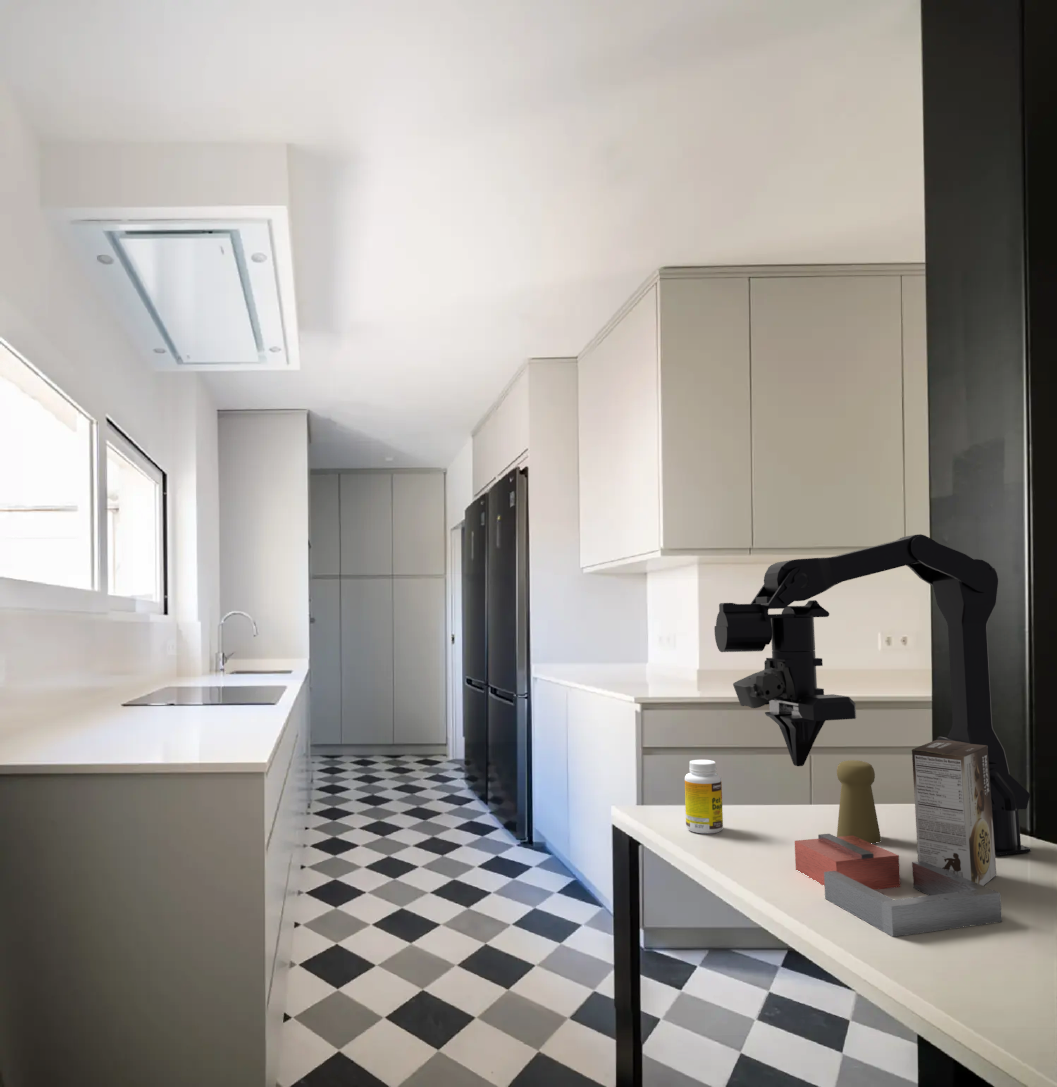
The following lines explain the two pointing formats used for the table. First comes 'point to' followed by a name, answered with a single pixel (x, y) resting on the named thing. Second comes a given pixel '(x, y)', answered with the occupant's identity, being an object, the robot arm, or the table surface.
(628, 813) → the table surface
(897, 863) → the block
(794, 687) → the robot arm
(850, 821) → the olive tapered upright piece
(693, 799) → the supplement bottle
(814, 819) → the table surface
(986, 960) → the table surface
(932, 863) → the coffee box
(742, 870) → the table surface
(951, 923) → the tray
